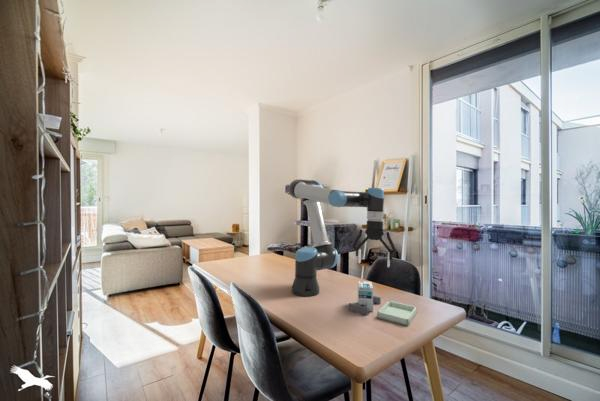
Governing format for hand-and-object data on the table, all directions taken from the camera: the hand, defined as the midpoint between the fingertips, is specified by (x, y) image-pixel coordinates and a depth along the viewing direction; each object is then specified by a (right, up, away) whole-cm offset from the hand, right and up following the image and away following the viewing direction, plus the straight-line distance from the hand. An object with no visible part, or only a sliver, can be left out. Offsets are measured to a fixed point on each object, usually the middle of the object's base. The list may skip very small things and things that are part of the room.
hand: (373, 264), depth 127 cm
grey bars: (-4, -20, -1) cm, 20 cm away
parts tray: (+8, -20, -10) cm, 23 cm away
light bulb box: (-4, -20, -1) cm, 20 cm away
